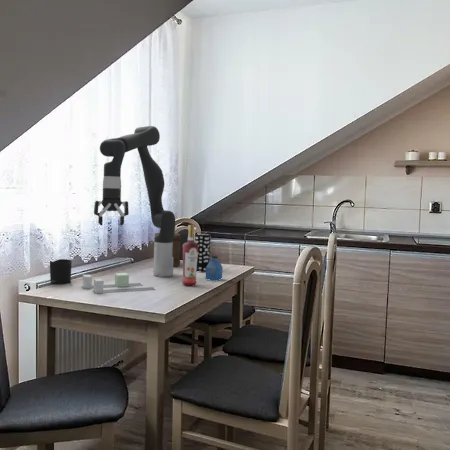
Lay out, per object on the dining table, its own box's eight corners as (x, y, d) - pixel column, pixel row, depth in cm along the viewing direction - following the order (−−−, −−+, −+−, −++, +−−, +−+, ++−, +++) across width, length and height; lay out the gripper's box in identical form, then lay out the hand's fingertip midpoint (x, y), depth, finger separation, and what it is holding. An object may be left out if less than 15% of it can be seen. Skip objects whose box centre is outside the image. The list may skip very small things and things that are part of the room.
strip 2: (152, 288, 213) (152, 275, 213) (156, 291, 208) (156, 278, 208) (92, 292, 202) (92, 278, 202) (94, 295, 197) (95, 281, 196)
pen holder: (49, 281, 222) (49, 259, 221) (70, 280, 226) (70, 259, 225) (50, 285, 214) (50, 262, 213) (72, 284, 217) (72, 262, 216)
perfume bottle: (222, 279, 243) (223, 255, 242) (216, 281, 237) (217, 256, 236) (211, 277, 245) (211, 254, 244) (205, 279, 240) (206, 255, 239)
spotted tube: (207, 272, 258) (208, 235, 257) (192, 271, 260) (193, 234, 258) (211, 270, 267) (212, 234, 265) (196, 269, 268) (197, 233, 267)
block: (125, 283, 218) (126, 273, 217) (128, 286, 213) (128, 275, 213) (114, 284, 216) (115, 273, 215) (117, 286, 211) (117, 275, 211)
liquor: (185, 287, 220) (186, 226, 218) (178, 283, 227) (180, 224, 224) (199, 286, 224) (201, 226, 221) (193, 283, 230) (195, 224, 228)
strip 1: (139, 284, 221) (139, 272, 221) (143, 287, 216) (143, 274, 215) (81, 287, 210) (81, 274, 210) (83, 290, 205) (83, 277, 204)
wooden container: (152, 263, 282) (153, 225, 280) (177, 263, 286) (178, 226, 284) (156, 267, 267) (157, 228, 266) (182, 267, 272) (183, 228, 270)
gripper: (126, 187, 211) (125, 224, 213) (93, 186, 205) (92, 224, 206) (130, 188, 204) (129, 226, 206) (96, 186, 198) (95, 226, 200)
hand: (111, 225), depth 206 cm, fingers open, 8 cm apart
